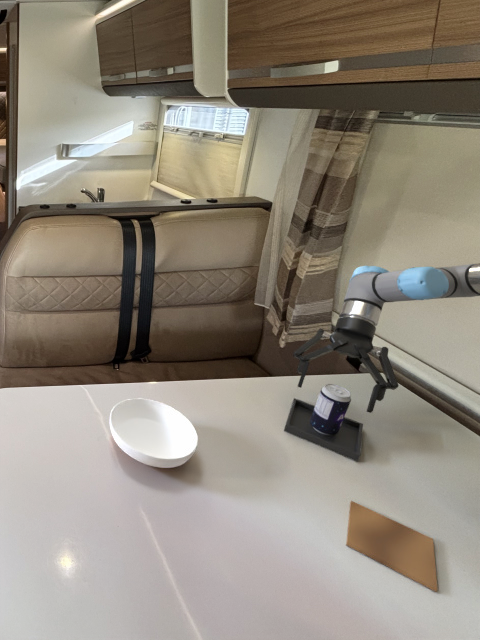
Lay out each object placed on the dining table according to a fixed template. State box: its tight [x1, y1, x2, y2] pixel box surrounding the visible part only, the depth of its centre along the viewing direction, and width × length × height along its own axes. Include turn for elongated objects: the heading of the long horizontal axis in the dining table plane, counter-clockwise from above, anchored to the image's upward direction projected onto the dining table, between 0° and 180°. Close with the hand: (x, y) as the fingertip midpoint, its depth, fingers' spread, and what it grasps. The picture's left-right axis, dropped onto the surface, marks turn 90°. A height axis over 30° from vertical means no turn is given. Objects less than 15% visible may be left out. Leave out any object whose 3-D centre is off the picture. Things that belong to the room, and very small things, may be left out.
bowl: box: [109, 397, 199, 469], centre depth 102 cm, size 20×20×6 cm
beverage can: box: [310, 383, 352, 435], centre depth 105 cm, size 6×6×12 cm
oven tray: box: [283, 398, 364, 463], centre depth 107 cm, size 14×13×2 cm
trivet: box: [345, 500, 439, 593], centre depth 81 cm, size 12×12×1 cm
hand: (333, 398), depth 105 cm, fingers open, 13 cm apart
